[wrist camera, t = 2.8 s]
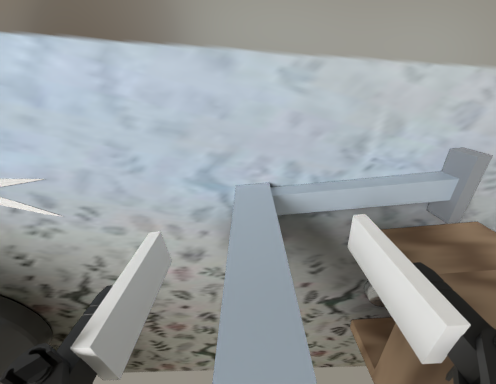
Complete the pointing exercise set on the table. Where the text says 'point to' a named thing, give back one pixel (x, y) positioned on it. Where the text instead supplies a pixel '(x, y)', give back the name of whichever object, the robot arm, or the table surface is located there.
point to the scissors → (15, 204)
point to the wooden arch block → (452, 272)
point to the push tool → (277, 268)
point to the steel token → (372, 295)
